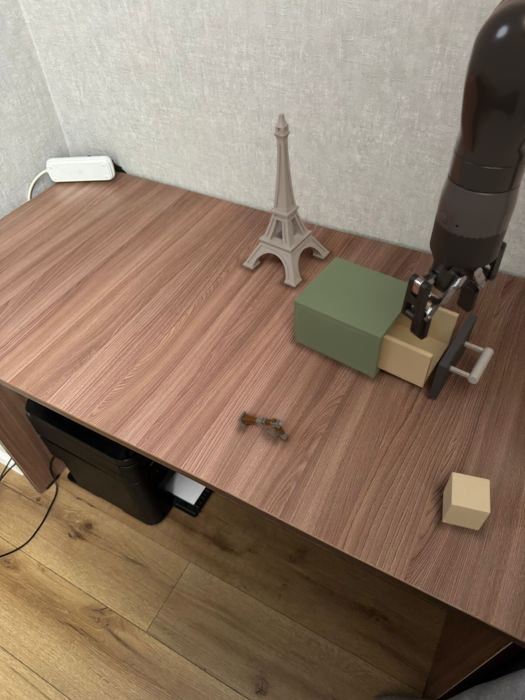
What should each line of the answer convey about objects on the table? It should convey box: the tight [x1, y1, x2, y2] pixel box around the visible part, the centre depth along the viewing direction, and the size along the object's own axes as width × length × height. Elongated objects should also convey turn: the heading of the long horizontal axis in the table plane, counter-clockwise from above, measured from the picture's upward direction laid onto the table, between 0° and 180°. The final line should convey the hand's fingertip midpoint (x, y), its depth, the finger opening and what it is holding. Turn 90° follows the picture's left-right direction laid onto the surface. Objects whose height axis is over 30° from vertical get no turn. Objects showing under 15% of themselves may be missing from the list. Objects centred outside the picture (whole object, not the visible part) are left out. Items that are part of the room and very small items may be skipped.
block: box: [441, 471, 491, 531], centre depth 62 cm, size 4×4×6 cm
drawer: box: [378, 301, 495, 401], centre depth 78 cm, size 19×13×8 cm, turn 54°
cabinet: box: [293, 256, 408, 379], centre depth 83 cm, size 16×14×10 cm
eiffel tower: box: [242, 112, 331, 288], centre depth 92 cm, size 13×13×30 cm
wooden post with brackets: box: [237, 410, 289, 442], centre depth 74 cm, size 2×8×4 cm, turn 60°
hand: (441, 321), depth 64 cm, fingers open, 8 cm apart
